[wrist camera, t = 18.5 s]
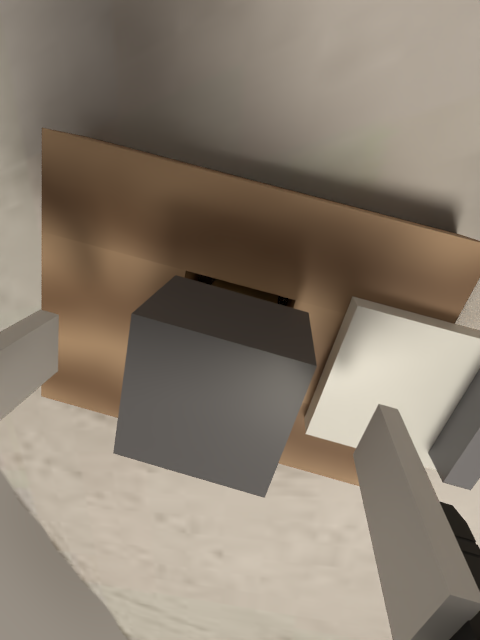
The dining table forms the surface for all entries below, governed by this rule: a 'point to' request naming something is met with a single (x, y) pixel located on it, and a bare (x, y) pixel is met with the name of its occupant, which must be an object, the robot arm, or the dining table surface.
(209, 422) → the plug
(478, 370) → the plate
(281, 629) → the dining table surface
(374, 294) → the socket board
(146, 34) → the dining table surface
